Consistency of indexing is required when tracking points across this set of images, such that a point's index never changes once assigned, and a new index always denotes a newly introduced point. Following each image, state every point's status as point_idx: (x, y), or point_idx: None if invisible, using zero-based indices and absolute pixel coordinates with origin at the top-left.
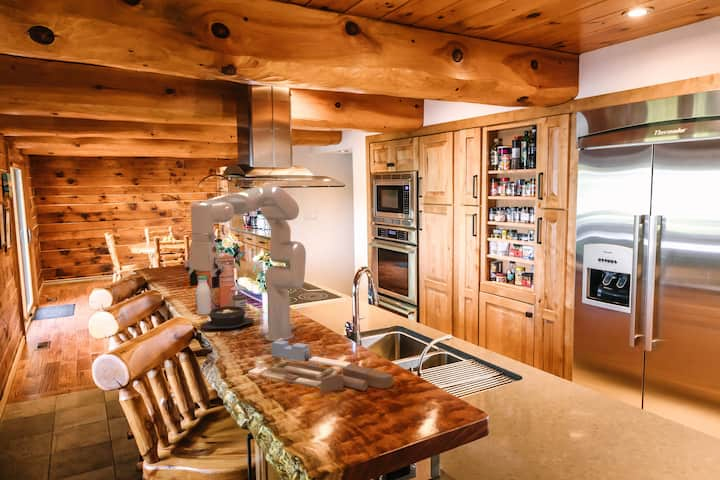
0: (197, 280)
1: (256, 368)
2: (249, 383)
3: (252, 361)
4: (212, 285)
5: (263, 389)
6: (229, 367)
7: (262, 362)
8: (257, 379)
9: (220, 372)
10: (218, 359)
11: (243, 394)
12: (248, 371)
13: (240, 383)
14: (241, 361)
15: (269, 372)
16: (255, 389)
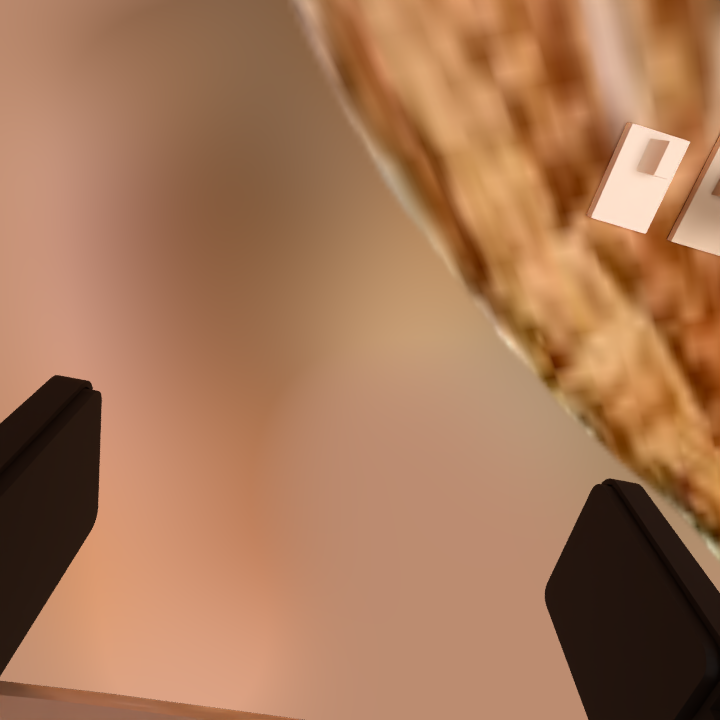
0: (58, 438)
1: (625, 165)
2: (622, 328)
3: (556, 6)
4: (569, 637)
5: (698, 376)
6: (452, 142)
7: (676, 158)
8: (650, 278)
9: (434, 224)
10: (323, 10)
11: (624, 430)
12: (591, 217)
13: (581, 335)
14: (485, 20)
15: (705, 204)
16: (663, 381)
